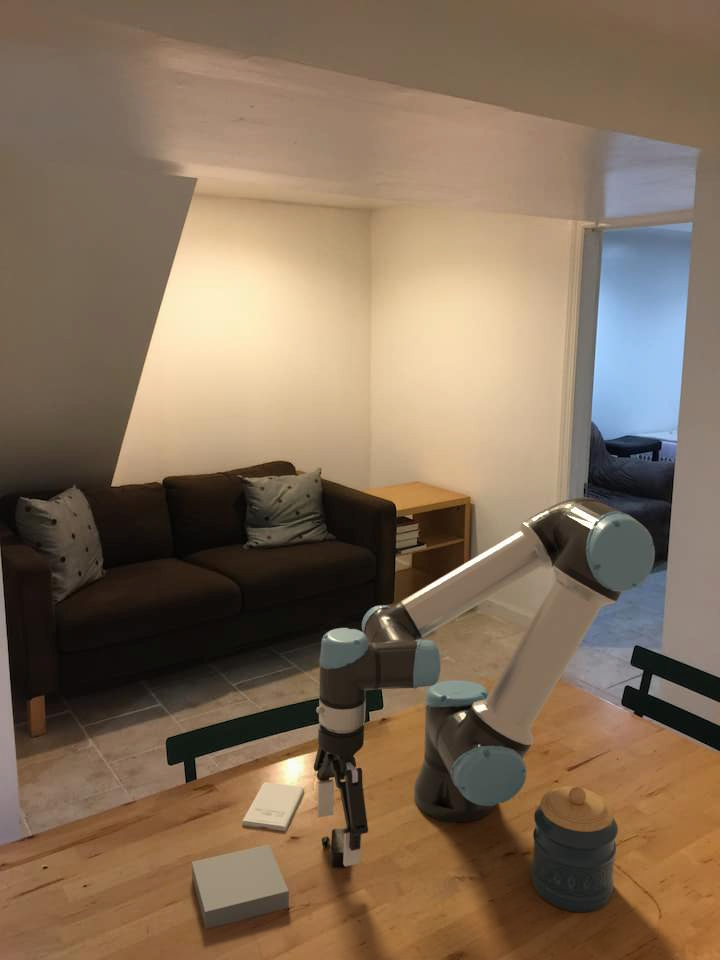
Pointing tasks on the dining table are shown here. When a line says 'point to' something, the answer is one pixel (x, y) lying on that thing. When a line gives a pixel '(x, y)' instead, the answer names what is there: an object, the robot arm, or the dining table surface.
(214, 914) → the stand
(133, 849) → the dining table surface
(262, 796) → the external hard drive
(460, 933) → the dining table surface
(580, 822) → the canister
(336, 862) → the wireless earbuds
